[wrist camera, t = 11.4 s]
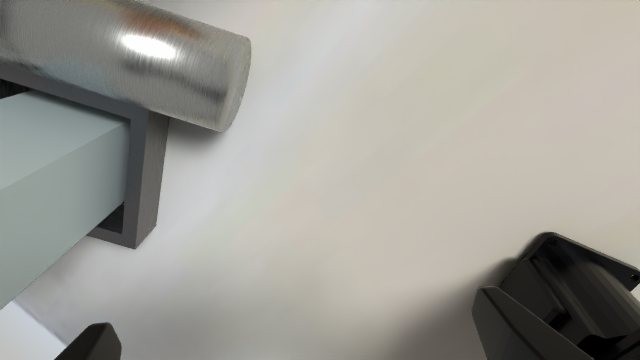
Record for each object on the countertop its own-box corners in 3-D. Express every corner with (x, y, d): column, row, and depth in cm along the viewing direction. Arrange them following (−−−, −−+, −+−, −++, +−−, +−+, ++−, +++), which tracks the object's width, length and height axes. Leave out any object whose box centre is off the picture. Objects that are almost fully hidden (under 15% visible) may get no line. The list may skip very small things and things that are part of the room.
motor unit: (258, 29, 18) (228, 38, 14) (212, 242, 24) (181, 296, 20) (-12, -60, 18) (-132, -79, 13) (8, 182, 23) (-71, 224, 19)
